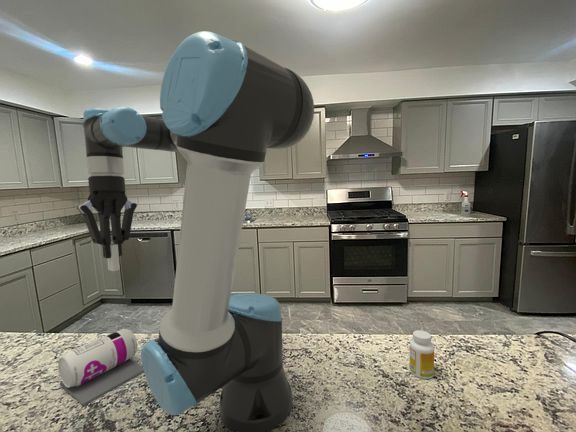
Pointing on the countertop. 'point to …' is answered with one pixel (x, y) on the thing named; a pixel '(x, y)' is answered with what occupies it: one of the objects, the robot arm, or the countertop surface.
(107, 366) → the supplement can
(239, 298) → the robot arm
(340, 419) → the countertop surface
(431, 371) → the supplement bottle
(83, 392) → the mat
